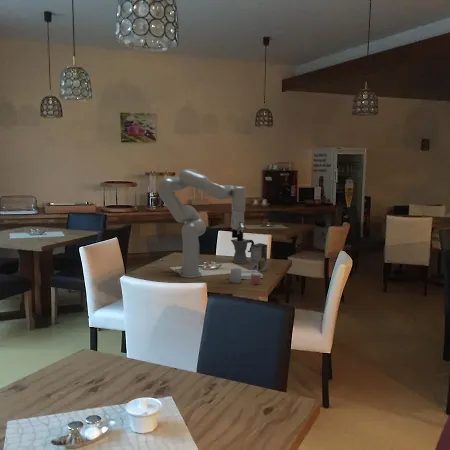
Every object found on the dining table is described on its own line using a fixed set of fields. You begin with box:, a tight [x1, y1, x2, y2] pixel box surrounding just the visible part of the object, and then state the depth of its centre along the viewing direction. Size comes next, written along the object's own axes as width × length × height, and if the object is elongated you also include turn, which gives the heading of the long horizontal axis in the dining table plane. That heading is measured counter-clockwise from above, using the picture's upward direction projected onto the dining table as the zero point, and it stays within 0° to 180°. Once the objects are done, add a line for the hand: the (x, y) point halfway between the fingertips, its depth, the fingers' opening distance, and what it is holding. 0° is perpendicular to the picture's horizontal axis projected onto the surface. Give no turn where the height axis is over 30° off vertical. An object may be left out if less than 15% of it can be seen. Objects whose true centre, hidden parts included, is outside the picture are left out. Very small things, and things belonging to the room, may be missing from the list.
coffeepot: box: [230, 238, 255, 265], centre depth 333 cm, size 15×9×18 cm, turn 82°
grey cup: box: [229, 268, 242, 284], centre depth 286 cm, size 6×6×7 cm
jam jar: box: [250, 272, 262, 284], centre depth 284 cm, size 5×5×6 cm
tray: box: [241, 269, 264, 280], centre depth 299 cm, size 13×12×2 cm
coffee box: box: [249, 242, 268, 273], centre depth 314 cm, size 9×6×16 cm
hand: (237, 239), depth 283 cm, fingers open, 9 cm apart
